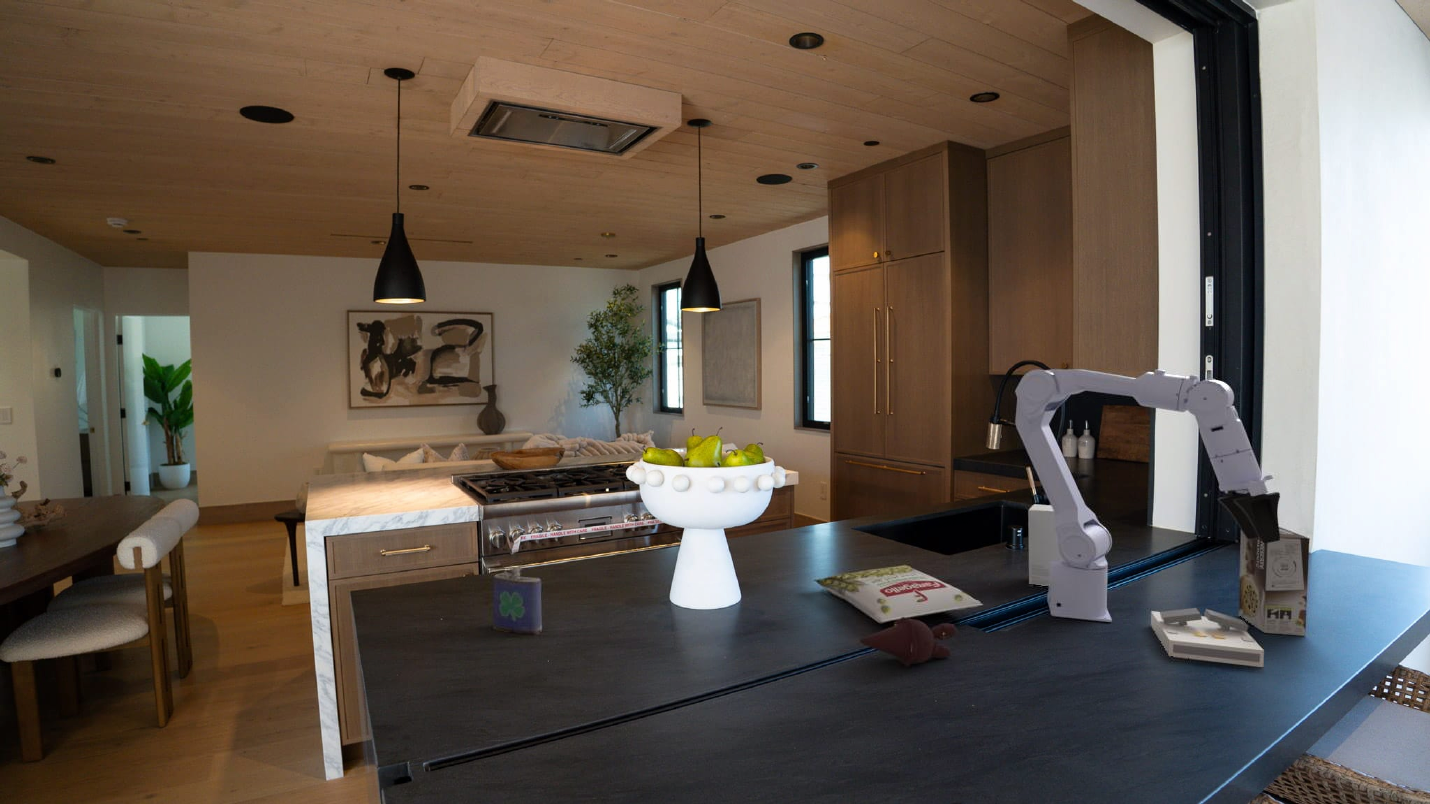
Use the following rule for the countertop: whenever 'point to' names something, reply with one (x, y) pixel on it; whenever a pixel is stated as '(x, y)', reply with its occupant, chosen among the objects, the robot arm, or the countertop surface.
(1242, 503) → the robot arm
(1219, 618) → the rocker right
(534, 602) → the flask
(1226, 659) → the console
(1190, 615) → the block
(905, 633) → the icecream
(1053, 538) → the skincare box
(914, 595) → the frozen beans
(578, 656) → the countertop surface
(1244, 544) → the coffee box
